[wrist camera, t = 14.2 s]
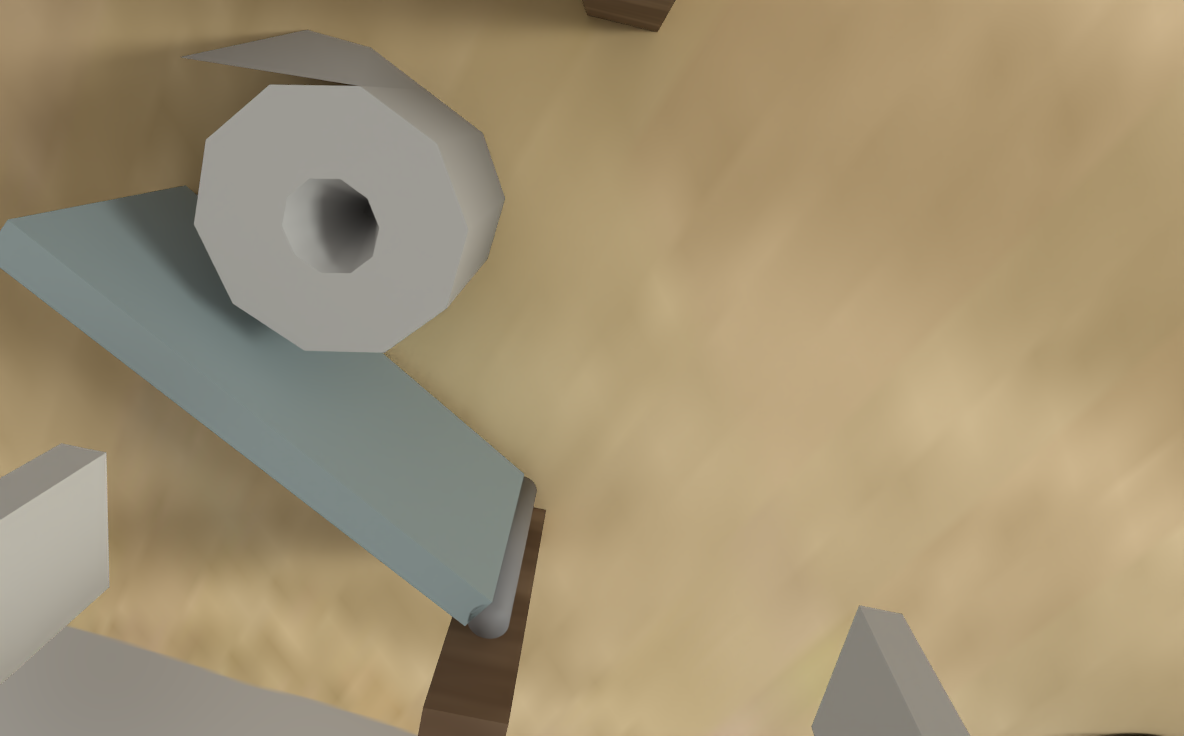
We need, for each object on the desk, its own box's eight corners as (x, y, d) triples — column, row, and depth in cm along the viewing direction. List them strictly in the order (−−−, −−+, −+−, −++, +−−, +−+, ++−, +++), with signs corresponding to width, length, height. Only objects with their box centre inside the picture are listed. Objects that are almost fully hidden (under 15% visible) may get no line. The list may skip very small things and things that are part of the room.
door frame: (537, 547, 39) (496, 774, 26) (482, 536, 39) (413, 758, 26) (722, -247, 27) (823, -584, 14) (643, -268, 27) (668, -629, 13)
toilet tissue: (283, -20, 30) (159, -64, 22) (543, 179, 32) (519, 205, 24) (188, 161, 33) (47, 181, 24) (435, 332, 35) (381, 401, 27)
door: (543, 490, 37) (517, 622, 28) (501, 527, 38) (463, 668, 28) (185, 185, 32) (7, 219, 23) (147, 236, 33) (-39, 290, 24)
